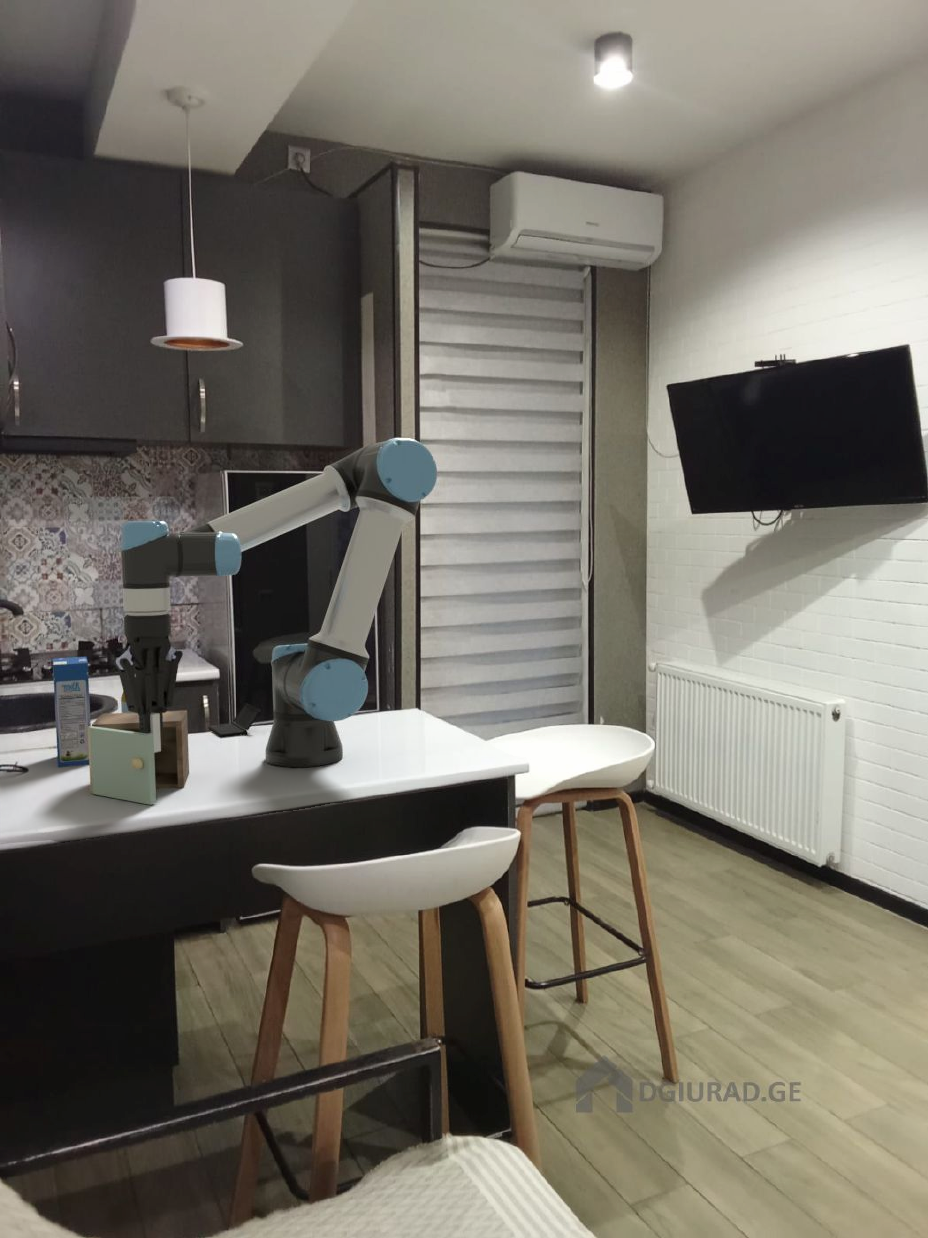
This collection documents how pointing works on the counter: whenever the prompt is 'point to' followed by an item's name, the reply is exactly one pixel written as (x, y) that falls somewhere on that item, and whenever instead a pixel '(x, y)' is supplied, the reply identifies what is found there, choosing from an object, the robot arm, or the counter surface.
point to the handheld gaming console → (237, 723)
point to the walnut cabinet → (173, 744)
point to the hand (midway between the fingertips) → (152, 750)
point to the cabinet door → (122, 764)
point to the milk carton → (72, 710)
